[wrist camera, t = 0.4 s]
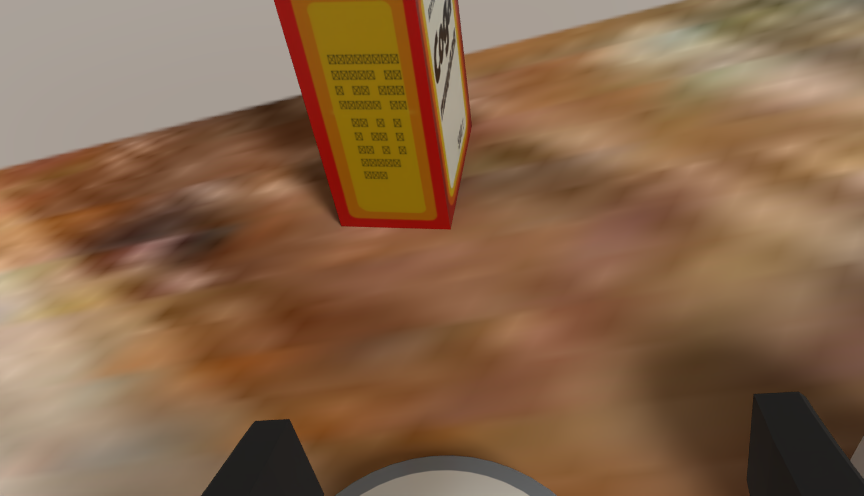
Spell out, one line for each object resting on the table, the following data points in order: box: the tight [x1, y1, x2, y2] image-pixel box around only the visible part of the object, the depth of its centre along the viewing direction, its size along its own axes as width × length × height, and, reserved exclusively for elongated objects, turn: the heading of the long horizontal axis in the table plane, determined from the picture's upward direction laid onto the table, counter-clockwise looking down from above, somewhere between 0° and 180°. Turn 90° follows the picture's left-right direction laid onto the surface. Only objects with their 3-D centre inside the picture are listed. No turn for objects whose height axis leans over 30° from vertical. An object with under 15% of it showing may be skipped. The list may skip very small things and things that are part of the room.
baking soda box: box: [274, 0, 472, 229], centre depth 42 cm, size 10×6×16 cm
